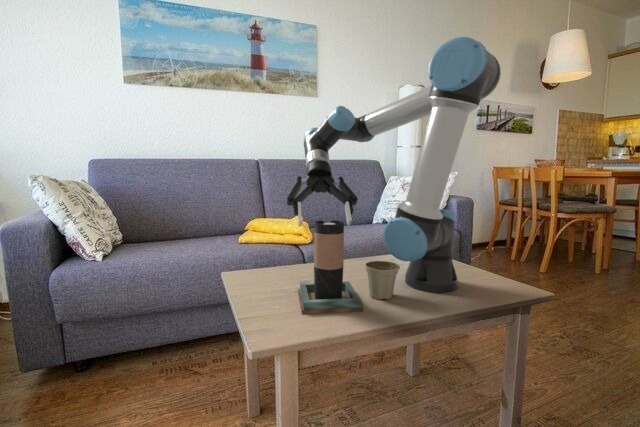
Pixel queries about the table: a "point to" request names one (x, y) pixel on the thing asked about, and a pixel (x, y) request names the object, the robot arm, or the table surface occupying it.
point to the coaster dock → (328, 300)
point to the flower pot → (381, 278)
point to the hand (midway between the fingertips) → (325, 223)
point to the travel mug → (328, 259)
